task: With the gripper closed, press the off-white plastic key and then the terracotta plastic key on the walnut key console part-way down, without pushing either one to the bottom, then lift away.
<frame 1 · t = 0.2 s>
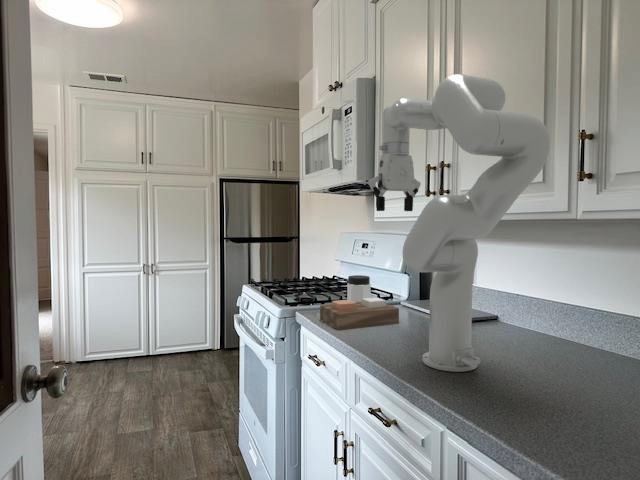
hand: (394, 211, 122), 36 cm above the worktop, tool pointing down, fingers open, 9 cm apart
jar: (358, 308, 163), on the worktop
offwhite key: (373, 304, 143), point 5 cm above the worktop, slide at 0.0 cm
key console: (358, 321, 142), on the worktop
terracotta key: (344, 307, 139), point 5 cm above the worktop, slide at 0.0 cm
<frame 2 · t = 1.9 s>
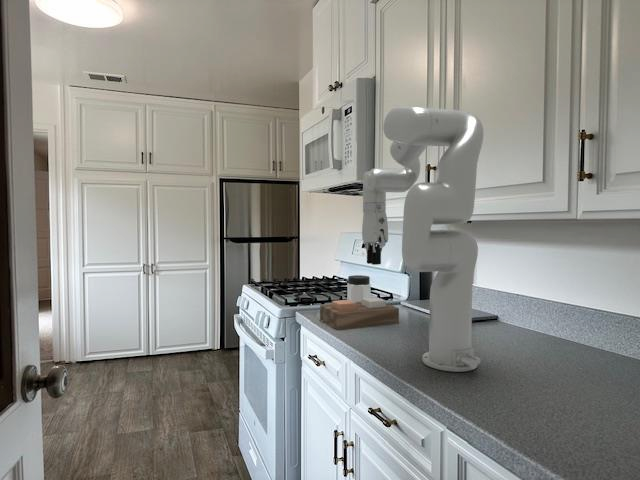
hand: (373, 263, 143), 19 cm above the worktop, tool pointing down, fingers closed
nothing on the worktop moved.
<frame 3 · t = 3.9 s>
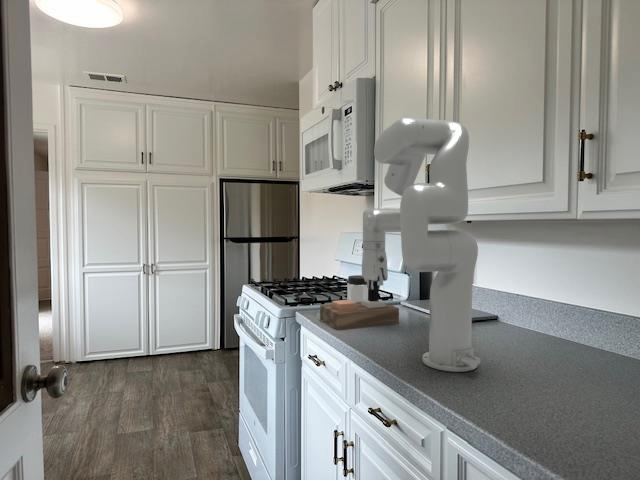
hand: (373, 300, 143), 7 cm above the worktop, tool pointing down, fingers closed
offwhite key: (373, 306, 143), point 5 cm above the worktop, slide at 0.5 cm, touching gripper
everything else where it was.
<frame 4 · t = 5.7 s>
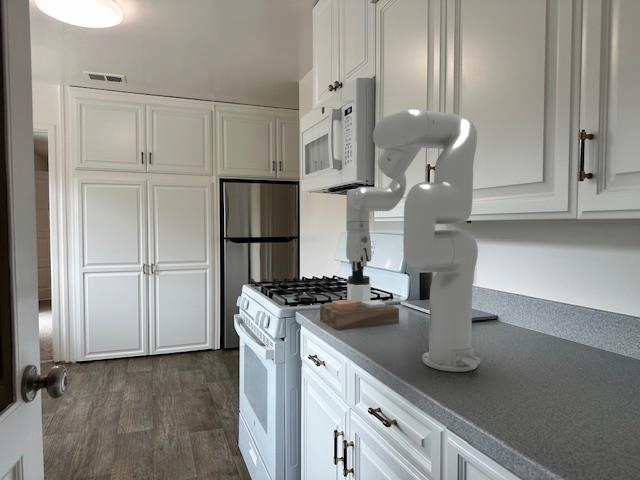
hand: (357, 282, 141), 13 cm above the worktop, tool pointing down, fingers closed
offwhite key: (373, 308, 143), point 4 cm above the worktop, slide at 1.1 cm
everything else where it was.
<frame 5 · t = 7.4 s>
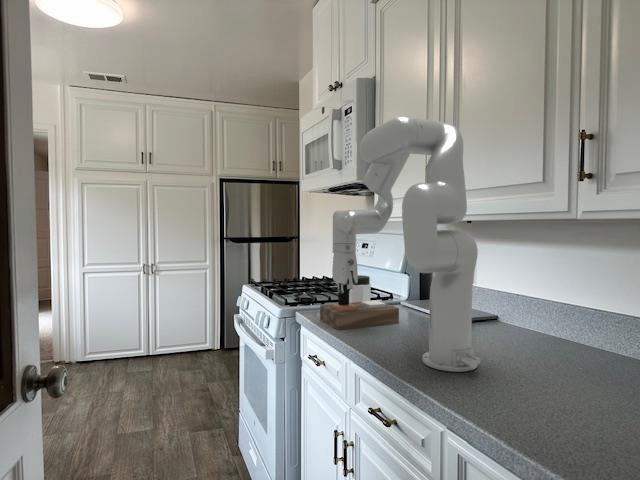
hand: (343, 304, 139), 6 cm above the worktop, tool pointing down, fingers closed
terracotta key: (344, 310, 139), point 4 cm above the worktop, slide at 0.9 cm, touching gripper
everything else where it was.
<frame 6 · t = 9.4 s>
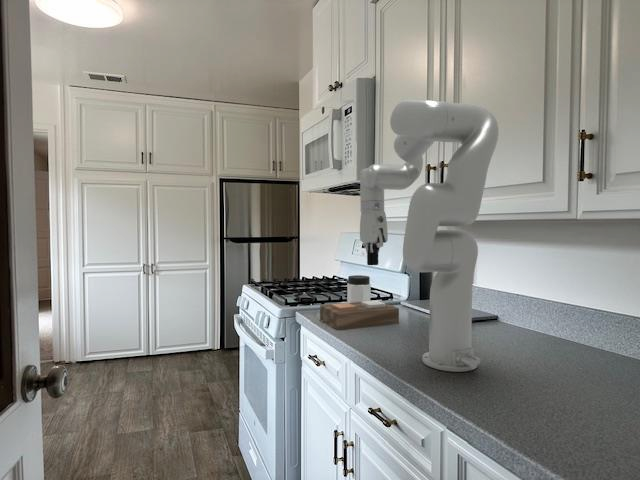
hand: (372, 264, 136), 19 cm above the worktop, tool pointing down, fingers closed
terracotta key: (344, 310, 139), point 4 cm above the worktop, slide at 1.1 cm
everything else where it was.
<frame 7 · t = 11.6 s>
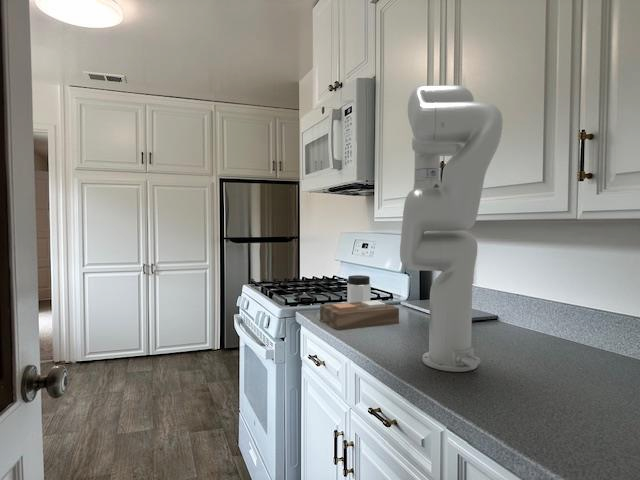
hand: (425, 234, 133), 29 cm above the worktop, tool pointing down, fingers closed
nothing on the worktop moved.
at the end: offwhite key slide at 1.1 cm; terracotta key slide at 1.1 cm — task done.
